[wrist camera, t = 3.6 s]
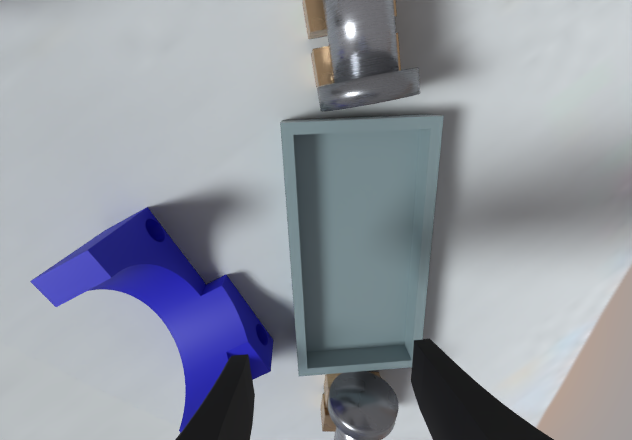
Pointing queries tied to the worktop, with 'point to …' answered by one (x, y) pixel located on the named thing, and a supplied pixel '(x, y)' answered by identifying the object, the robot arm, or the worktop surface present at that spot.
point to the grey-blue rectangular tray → (360, 237)
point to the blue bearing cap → (167, 299)
